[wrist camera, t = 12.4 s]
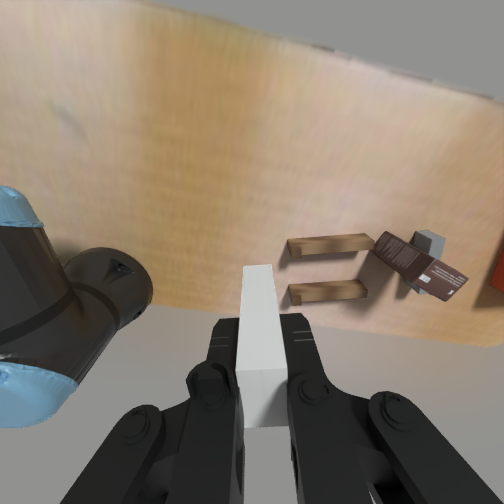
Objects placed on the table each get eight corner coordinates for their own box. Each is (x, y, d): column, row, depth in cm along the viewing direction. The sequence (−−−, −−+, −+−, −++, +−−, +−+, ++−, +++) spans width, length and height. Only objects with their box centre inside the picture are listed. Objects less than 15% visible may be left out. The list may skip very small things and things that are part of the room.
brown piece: (289, 291, 45) (292, 305, 40) (287, 239, 40) (291, 249, 36) (358, 286, 44) (369, 300, 40) (364, 233, 40) (377, 243, 36)
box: (412, 243, 40) (472, 279, 29) (394, 264, 42) (444, 305, 31) (385, 227, 39) (437, 258, 28) (368, 249, 41) (410, 286, 30)
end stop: (404, 281, 44) (418, 294, 40) (415, 230, 40) (432, 239, 36) (416, 281, 43) (430, 293, 40) (427, 230, 39) (445, 238, 36)
